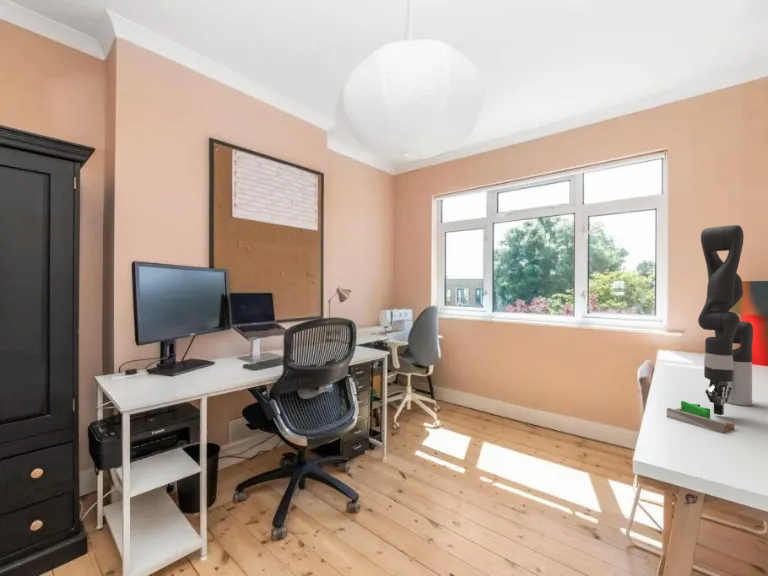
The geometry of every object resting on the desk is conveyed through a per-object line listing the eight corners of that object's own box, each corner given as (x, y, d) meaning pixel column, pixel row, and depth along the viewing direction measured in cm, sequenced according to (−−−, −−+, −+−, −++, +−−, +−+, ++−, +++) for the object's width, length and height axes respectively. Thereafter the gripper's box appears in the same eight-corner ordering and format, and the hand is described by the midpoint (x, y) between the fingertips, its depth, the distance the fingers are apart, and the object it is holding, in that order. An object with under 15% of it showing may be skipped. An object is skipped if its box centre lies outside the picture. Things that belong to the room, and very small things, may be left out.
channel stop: (679, 413, 125) (679, 405, 125) (734, 428, 111) (734, 419, 111) (666, 416, 121) (666, 408, 121) (722, 432, 108) (722, 423, 108)
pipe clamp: (717, 425, 114) (717, 412, 114) (705, 424, 115) (705, 411, 115) (692, 413, 125) (692, 401, 125) (680, 412, 126) (681, 400, 126)
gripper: (714, 362, 128) (714, 408, 128) (695, 365, 123) (695, 413, 123) (741, 366, 121) (741, 415, 121) (723, 370, 116) (723, 421, 116)
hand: (718, 414), depth 122 cm, fingers closed
